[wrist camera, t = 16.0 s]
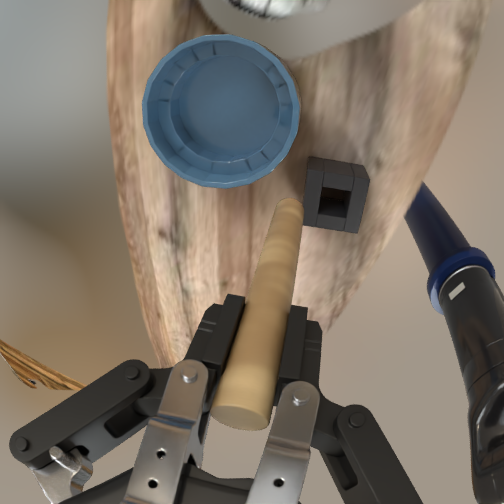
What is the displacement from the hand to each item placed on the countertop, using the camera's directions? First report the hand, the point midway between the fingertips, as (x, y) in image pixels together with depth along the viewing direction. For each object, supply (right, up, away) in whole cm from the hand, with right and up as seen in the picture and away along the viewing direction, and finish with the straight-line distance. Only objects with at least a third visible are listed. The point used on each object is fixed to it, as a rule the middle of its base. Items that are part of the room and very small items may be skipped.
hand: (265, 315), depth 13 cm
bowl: (-3, +18, +17) cm, 25 cm away
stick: (+2, +6, +8) cm, 10 cm away
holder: (+9, +10, +20) cm, 24 cm away
